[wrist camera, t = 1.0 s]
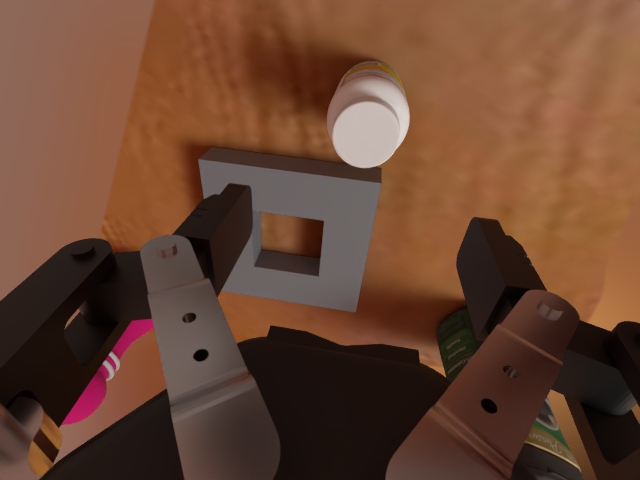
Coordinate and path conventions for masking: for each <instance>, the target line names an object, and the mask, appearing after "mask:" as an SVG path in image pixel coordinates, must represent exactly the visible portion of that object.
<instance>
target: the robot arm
mask: <svg viewBox="0 0 640 480" xmlns="http://www.w3.org/2000/svg"><path fill="white" fill-rule="evenodd" d="M252 229H253V210H252V191H251V187H250V186H249V185H242V184H234V183H229V184H228V185H227V186H226V187H225V188H224V190H223V191H222V192H221V193H220V195H218V194H213V195H211V196H209V197H207V198H205V199H204V200H202V201H201V202H200V204H199V205H198V206H197V207H196V209H194V210H193V212H192V213H191V214H190V216H188V217H187V218H186V220H185V221H184V222H183V223H182V224H181V225H180V226H179V228H178V229H177V230H176V231H175V232H174V233H173V234H172V235H165V236H160V237H157V238H154V239H152V240H150V241H148V242H147V243H146V244H144V245H143V247H142V248H141V251H137V252H121V253H113V250H112V247H111V245H110V243H109V242H107V241H105V240H103V239H96V238H93V239H92V238H91V239H83V240H79V241H76V242H73V243H70V244H68V245H66V246H64V247H63V248H61V249H60V250H59V251H58V252H57V253H55V254H54V255H53V256H52V257H51V258H50V259H48V260H47V261H46V262H45V263H44V264H43V265H42V266H40V267H39V268H38V269H37V270H36V271H35V272H33V273H32V274H31V275H30V276H29V277H28V278H27V279H26V280H24V281H23V282H22V283H21V284H20V285H18V286H17V287H16V288H15V289H14V290H13V291H12V292H10V293H9V294H8V295H7V296H6V297H5V298H3V299H2V300H1V301H0V480H538V479H537V478H536V477H535V476H534V475H533V474H532V473H531V471H530V470H529V469H528V468H527V467H526V466H525V464H524V463H523V462H522V461H521V460H520V459H519V458H518V455H519V453H520V451H521V449H522V447H523V445H524V443H525V441H526V439H527V437H528V435H529V432H530V430H531V428H532V426H533V424H534V422H535V420H536V418H537V416H538V414H539V412H540V410H541V408H542V406H543V404H544V402H545V400H546V398H547V396H548V394H549V392H550V390H554V391H556V392H558V393H561V394H563V395H564V396H565V399H566V402H567V404H568V407H569V409H570V412H571V414H572V417H573V419H574V422H575V425H576V427H577V430H578V432H579V435H580V437H581V440H582V442H583V445H584V447H585V450H586V452H587V455H588V457H589V460H590V462H591V465H592V467H593V470H594V473H595V475H596V478H597V480H640V424H639V423H638V421H637V419H636V417H635V416H634V413H633V412H632V410H631V408H633V407H634V406H635V405H636V404H637V403H638V405H639V407H640V323H637V322H631V321H624V322H621V323H619V324H617V326H616V327H615V328H614V329H613V330H612V331H608V330H605V329H603V328H600V327H597V326H594V325H592V324H589V323H586V322H583V321H581V320H580V316H579V314H578V312H577V310H576V309H575V308H574V307H573V306H572V305H571V304H570V303H569V302H568V301H566V300H565V299H563V298H562V297H560V296H558V295H556V294H554V293H551V292H548V291H547V290H546V288H545V286H544V284H543V283H542V281H541V279H540V277H539V275H538V274H537V272H536V270H535V268H534V267H533V266H532V263H531V261H530V259H529V258H527V254H526V252H525V251H524V249H523V247H522V245H520V244H519V243H518V242H517V241H516V240H515V239H513V238H512V237H511V236H507V235H505V233H504V231H503V229H502V227H501V225H500V223H499V222H498V220H494V219H486V218H479V217H474V218H473V219H472V220H471V222H470V224H469V226H468V229H467V231H466V234H465V236H464V239H463V242H462V244H461V247H460V249H459V252H458V255H457V262H456V266H457V271H458V275H459V278H460V282H461V286H462V289H463V293H464V296H465V300H466V304H467V307H468V311H469V315H470V318H471V322H472V325H473V329H474V333H475V336H476V340H479V341H484V343H483V344H482V345H481V346H480V348H479V349H478V350H477V352H476V353H475V354H474V355H473V357H472V358H471V359H470V361H469V362H468V363H467V364H466V366H465V367H464V368H463V370H462V371H461V372H460V373H459V375H458V376H457V377H456V379H455V380H454V381H453V382H451V381H449V380H448V379H447V378H446V377H444V376H443V375H442V374H440V373H439V372H437V371H435V370H434V369H432V368H430V367H428V366H426V365H424V364H422V363H420V361H419V351H418V350H415V349H409V348H403V347H397V346H391V345H385V344H370V345H351V346H343V345H339V344H336V343H334V342H331V341H329V340H326V339H324V338H321V337H319V336H316V335H314V334H311V333H309V332H306V331H301V330H295V329H289V328H283V327H277V326H270V329H269V332H268V335H267V337H258V338H252V339H248V340H245V341H242V342H239V343H237V344H236V341H235V339H234V337H233V334H232V332H231V329H230V327H229V325H228V322H227V320H226V318H225V315H224V313H223V310H222V308H221V306H220V303H219V301H218V298H217V297H218V296H219V294H220V292H221V290H222V288H223V286H224V285H225V283H226V281H227V279H228V277H229V275H230V273H231V272H232V270H233V268H234V266H235V264H236V262H237V261H238V259H239V257H240V255H241V253H242V251H243V250H244V248H245V246H246V244H247V242H248V240H249V238H250V236H251V233H252ZM78 308H79V310H80V312H79V313H78V315H77V316H76V317H75V318H74V319H73V320H72V322H71V323H70V324H69V325H68V326H67V327H66V329H65V326H66V323H67V321H68V320H69V318H70V317H71V316H72V315H73V314H74V313H75V312H76V310H77V309H78ZM145 319H152V320H153V325H154V329H155V334H156V339H157V343H158V348H159V353H160V358H161V362H162V367H163V372H164V377H165V381H166V387H167V389H165V390H164V391H162V392H160V393H159V394H158V395H156V396H154V397H153V398H152V399H150V400H149V401H147V402H146V403H144V404H142V405H141V406H140V407H138V408H136V409H135V410H134V411H132V412H131V413H129V414H128V415H126V416H124V417H123V418H121V419H120V420H118V421H117V422H115V423H114V424H112V425H111V426H109V427H108V428H106V429H105V430H103V431H102V432H101V433H99V434H97V435H96V436H94V437H93V438H91V439H90V440H88V441H87V442H85V443H84V444H82V445H81V446H79V447H78V448H76V449H75V450H73V451H72V452H70V453H69V454H68V455H66V456H65V457H63V458H62V459H61V460H59V461H58V462H57V463H56V464H55V465H54V461H55V459H56V457H57V455H58V453H59V451H60V447H61V444H62V434H61V431H60V430H59V427H60V426H61V424H62V423H63V421H64V420H65V418H66V417H67V415H68V414H69V412H70V411H71V409H72V408H73V407H74V405H75V404H76V402H77V401H78V399H79V398H80V396H81V395H82V393H83V392H84V390H85V389H86V387H87V386H88V385H89V383H90V382H91V380H92V379H93V377H94V376H95V374H96V373H97V371H98V370H99V368H100V367H101V366H102V364H103V363H104V361H105V360H106V358H107V357H108V355H109V354H110V352H111V351H112V349H113V348H114V346H115V345H116V344H117V342H118V341H119V339H120V338H121V336H122V335H123V333H124V332H125V330H126V329H127V327H128V326H129V324H130V323H131V322H132V321H135V320H145ZM64 329H65V330H64Z"/></svg>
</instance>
